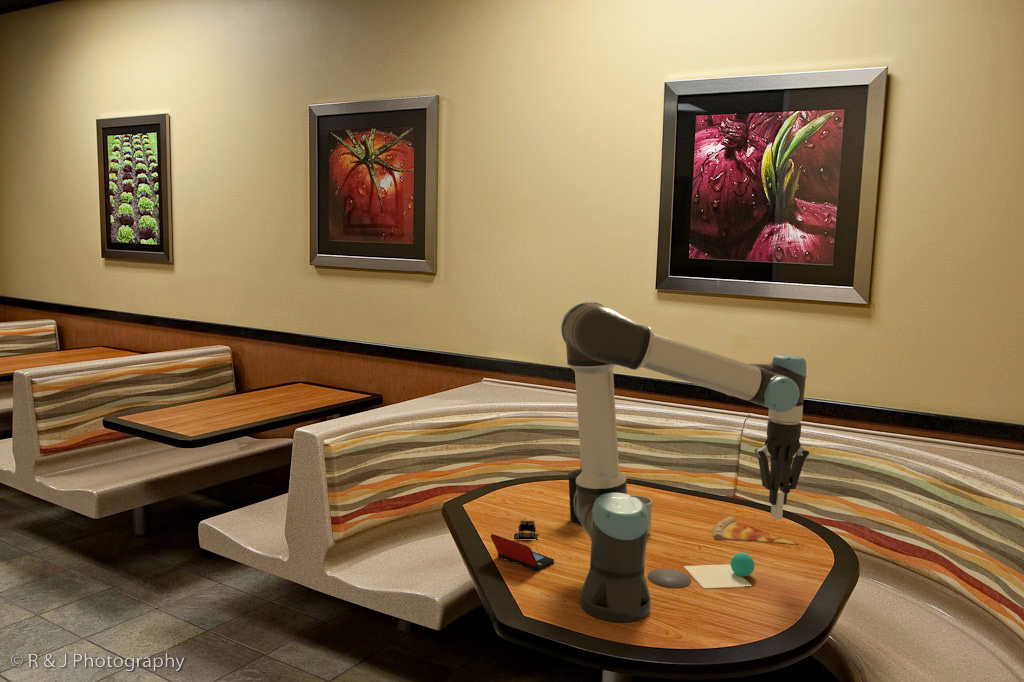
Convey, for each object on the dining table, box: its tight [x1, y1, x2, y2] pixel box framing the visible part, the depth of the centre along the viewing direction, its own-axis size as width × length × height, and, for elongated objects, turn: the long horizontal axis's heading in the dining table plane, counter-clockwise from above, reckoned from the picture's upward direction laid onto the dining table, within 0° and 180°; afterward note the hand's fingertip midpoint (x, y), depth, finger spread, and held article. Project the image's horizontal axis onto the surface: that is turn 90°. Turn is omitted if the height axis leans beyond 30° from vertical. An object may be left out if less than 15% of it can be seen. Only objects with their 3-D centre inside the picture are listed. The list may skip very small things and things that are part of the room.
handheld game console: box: [490, 533, 555, 573], centre depth 189 cm, size 12×11×7 cm
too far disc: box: [647, 568, 692, 589], centre depth 183 cm, size 10×10×1 cm
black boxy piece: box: [514, 519, 540, 540], centre depth 205 cm, size 12×7×5 cm, turn 89°
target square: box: [683, 563, 753, 590], centre depth 185 cm, size 12×12×1 cm
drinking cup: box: [567, 468, 582, 525], centre depth 217 cm, size 8×8×20 cm
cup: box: [631, 495, 653, 535], centre depth 210 cm, size 7×10×9 cm
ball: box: [730, 552, 755, 578], centre depth 186 cm, size 6×6×6 cm
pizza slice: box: [712, 515, 794, 544], centre depth 210 cm, size 16×22×2 cm
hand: (776, 517), depth 186 cm, fingers closed
